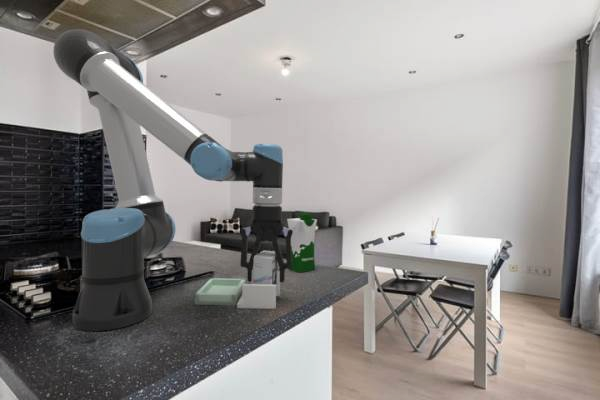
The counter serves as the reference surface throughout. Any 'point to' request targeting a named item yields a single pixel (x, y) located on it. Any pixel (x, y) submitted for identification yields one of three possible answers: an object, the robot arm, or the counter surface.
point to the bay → (258, 296)
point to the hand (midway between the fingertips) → (265, 293)
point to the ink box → (265, 268)
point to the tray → (220, 292)
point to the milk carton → (302, 242)
